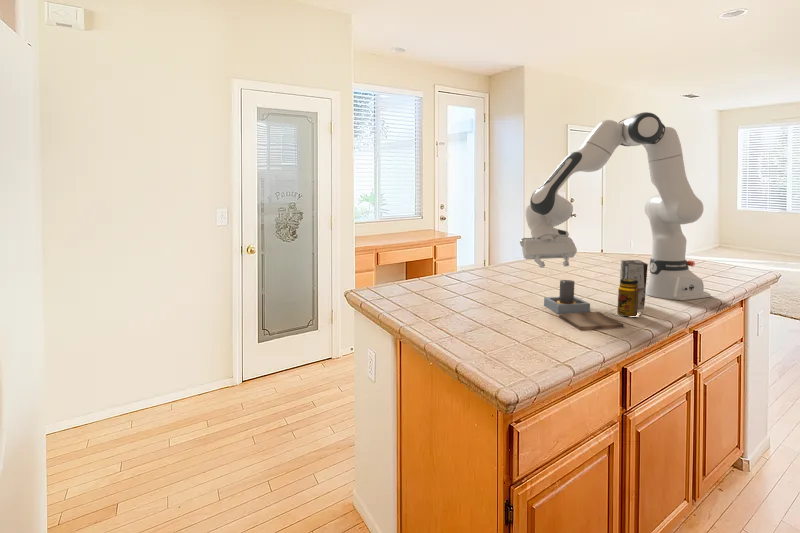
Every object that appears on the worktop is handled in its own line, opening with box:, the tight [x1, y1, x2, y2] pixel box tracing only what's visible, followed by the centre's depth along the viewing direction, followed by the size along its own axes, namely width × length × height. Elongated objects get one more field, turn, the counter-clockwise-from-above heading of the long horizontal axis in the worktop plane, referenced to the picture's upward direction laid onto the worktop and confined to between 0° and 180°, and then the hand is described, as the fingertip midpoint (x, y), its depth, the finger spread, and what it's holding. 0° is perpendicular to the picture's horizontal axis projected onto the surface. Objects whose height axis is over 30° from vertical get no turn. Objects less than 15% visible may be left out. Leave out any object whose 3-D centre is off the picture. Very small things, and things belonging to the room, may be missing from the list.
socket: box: [543, 295, 591, 315], centre depth 157 cm, size 11×11×3 cm
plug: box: [557, 279, 576, 304], centre depth 157 cm, size 6×6×10 cm
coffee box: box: [619, 259, 649, 310], centre depth 158 cm, size 9×6×16 cm
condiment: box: [613, 279, 644, 317], centre depth 148 cm, size 7×8×12 cm
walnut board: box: [558, 311, 625, 331], centre depth 142 cm, size 14×14×1 cm
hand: (554, 266), depth 165 cm, fingers open, 8 cm apart
